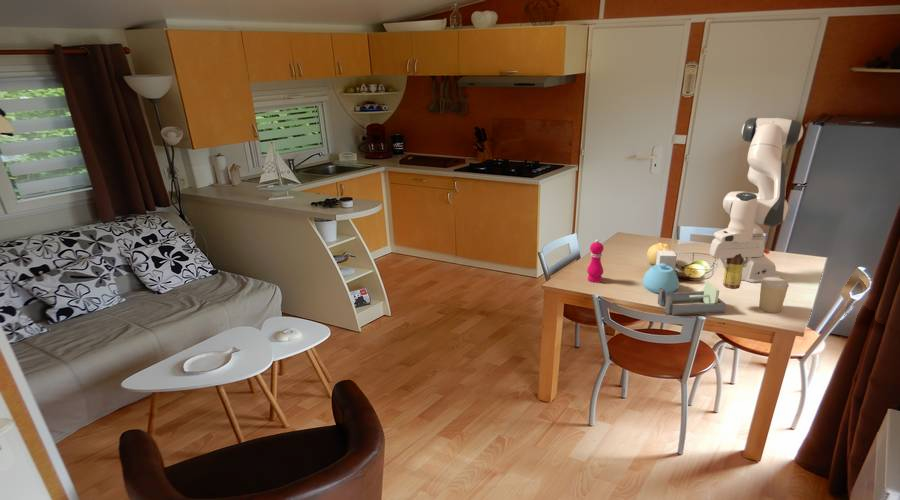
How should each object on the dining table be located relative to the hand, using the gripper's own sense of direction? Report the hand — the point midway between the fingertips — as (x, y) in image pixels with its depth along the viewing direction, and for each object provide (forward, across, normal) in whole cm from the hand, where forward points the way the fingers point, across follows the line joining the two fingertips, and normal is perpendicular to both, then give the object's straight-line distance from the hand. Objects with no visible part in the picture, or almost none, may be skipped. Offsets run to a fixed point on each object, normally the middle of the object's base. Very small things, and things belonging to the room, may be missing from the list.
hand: (734, 267), depth 206 cm
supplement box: (+17, +14, -31) cm, 38 cm away
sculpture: (+17, +9, -48) cm, 52 cm away
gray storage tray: (+17, +16, 0) cm, 23 cm away
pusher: (+17, +11, 0) cm, 20 cm away
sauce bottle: (+9, 0, 0) cm, 9 cm away
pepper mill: (+18, +46, -32) cm, 59 cm away
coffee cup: (+17, -15, +4) cm, 23 cm away
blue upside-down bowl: (+17, +20, -20) cm, 33 cm away
